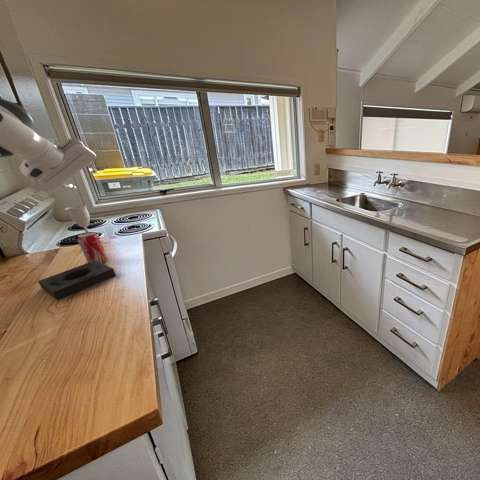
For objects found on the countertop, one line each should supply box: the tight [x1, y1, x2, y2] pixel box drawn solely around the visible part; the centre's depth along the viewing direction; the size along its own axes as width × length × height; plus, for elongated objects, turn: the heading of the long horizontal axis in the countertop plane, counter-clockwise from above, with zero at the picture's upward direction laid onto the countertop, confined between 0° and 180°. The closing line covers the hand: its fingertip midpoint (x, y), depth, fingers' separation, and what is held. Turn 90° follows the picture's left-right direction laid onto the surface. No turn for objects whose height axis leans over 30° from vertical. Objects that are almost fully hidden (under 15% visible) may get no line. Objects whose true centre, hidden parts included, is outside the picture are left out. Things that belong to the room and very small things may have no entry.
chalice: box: [65, 204, 91, 233], centre depth 116 cm, size 7×7×18 cm
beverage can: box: [77, 231, 109, 264], centre depth 99 cm, size 6×6×12 cm
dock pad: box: [37, 260, 117, 301], centre depth 88 cm, size 16×14×3 cm
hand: (85, 180), depth 98 cm, fingers open, 8 cm apart
